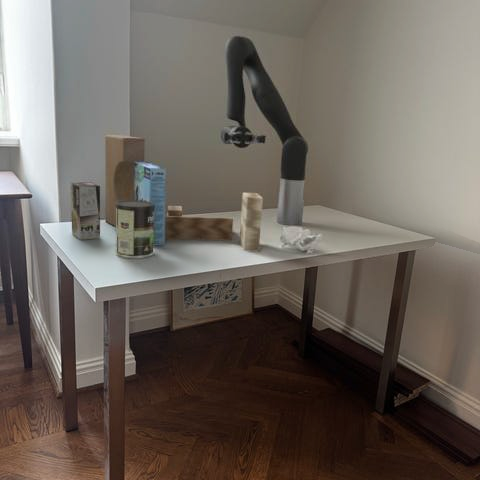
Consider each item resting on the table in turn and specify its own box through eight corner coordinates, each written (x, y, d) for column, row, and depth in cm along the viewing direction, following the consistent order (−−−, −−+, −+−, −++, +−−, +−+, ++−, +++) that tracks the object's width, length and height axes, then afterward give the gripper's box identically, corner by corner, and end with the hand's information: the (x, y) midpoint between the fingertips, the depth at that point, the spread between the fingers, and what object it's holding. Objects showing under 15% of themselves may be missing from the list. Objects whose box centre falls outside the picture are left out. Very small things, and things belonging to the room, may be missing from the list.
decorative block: (105, 221, 164) (104, 134, 157) (125, 220, 169) (125, 135, 162) (122, 231, 153) (123, 137, 146) (143, 229, 158) (145, 138, 150)
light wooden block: (253, 242, 150) (257, 193, 147) (258, 250, 141) (262, 198, 137) (239, 241, 150) (242, 192, 146) (243, 250, 140) (247, 197, 136)
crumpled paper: (273, 229, 144) (300, 219, 150) (272, 248, 147) (299, 237, 154) (300, 245, 136) (328, 234, 142) (298, 265, 139) (326, 253, 146)
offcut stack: (181, 230, 160) (182, 205, 158) (181, 237, 151) (182, 211, 149) (166, 229, 160) (167, 204, 157) (166, 236, 150) (166, 210, 148)
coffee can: (155, 249, 135) (156, 201, 131) (151, 259, 125) (152, 207, 122) (118, 247, 134) (119, 199, 130) (112, 257, 124) (112, 205, 121)
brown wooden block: (226, 229, 165) (227, 210, 163) (231, 240, 151) (233, 218, 149) (160, 227, 161) (161, 207, 159) (159, 238, 147) (160, 216, 146)
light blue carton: (164, 245, 140) (167, 168, 134) (148, 246, 138) (149, 168, 132) (148, 230, 157) (149, 161, 151) (133, 230, 154) (134, 161, 149)
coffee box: (101, 238, 142) (100, 185, 138) (79, 240, 139) (78, 186, 135) (91, 231, 150) (91, 181, 146) (71, 233, 146) (70, 181, 142)
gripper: (221, 124, 167) (226, 125, 152) (260, 127, 170) (269, 128, 154) (220, 146, 169) (225, 149, 154) (258, 148, 171) (267, 151, 156)
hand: (247, 138), depth 154 cm, fingers open, 8 cm apart
